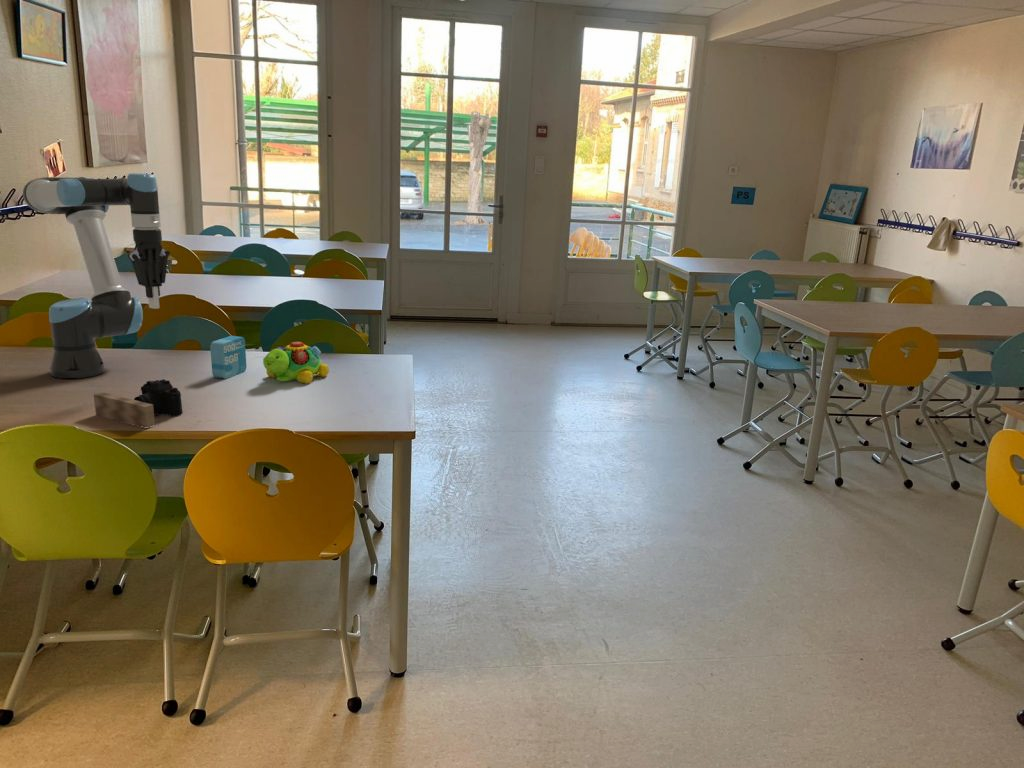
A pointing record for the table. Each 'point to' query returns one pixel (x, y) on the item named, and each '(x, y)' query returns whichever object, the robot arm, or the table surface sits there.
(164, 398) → the film camera
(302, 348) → the turtle toy
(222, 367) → the data package
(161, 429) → the table surface
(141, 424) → the stone brick
